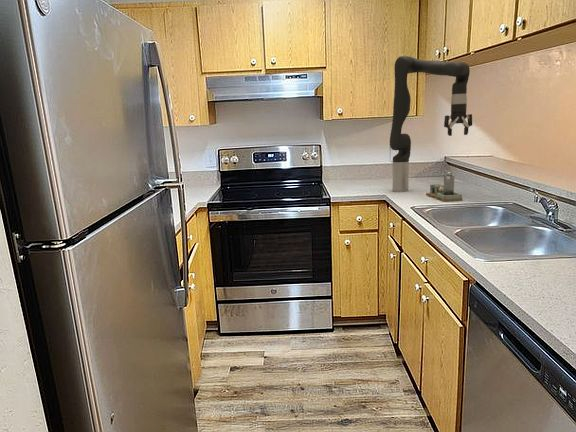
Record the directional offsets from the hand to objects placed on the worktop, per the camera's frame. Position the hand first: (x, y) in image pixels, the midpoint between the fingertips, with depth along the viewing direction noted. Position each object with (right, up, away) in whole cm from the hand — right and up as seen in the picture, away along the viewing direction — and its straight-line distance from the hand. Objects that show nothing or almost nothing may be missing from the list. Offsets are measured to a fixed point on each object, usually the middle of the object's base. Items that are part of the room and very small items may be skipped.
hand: (457, 135), depth 234 cm
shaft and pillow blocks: (-7, -30, +10) cm, 32 cm away
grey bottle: (-5, -32, -2) cm, 33 cm away
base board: (-6, -32, +4) cm, 33 cm away
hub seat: (-5, -32, -2) cm, 33 cm away
